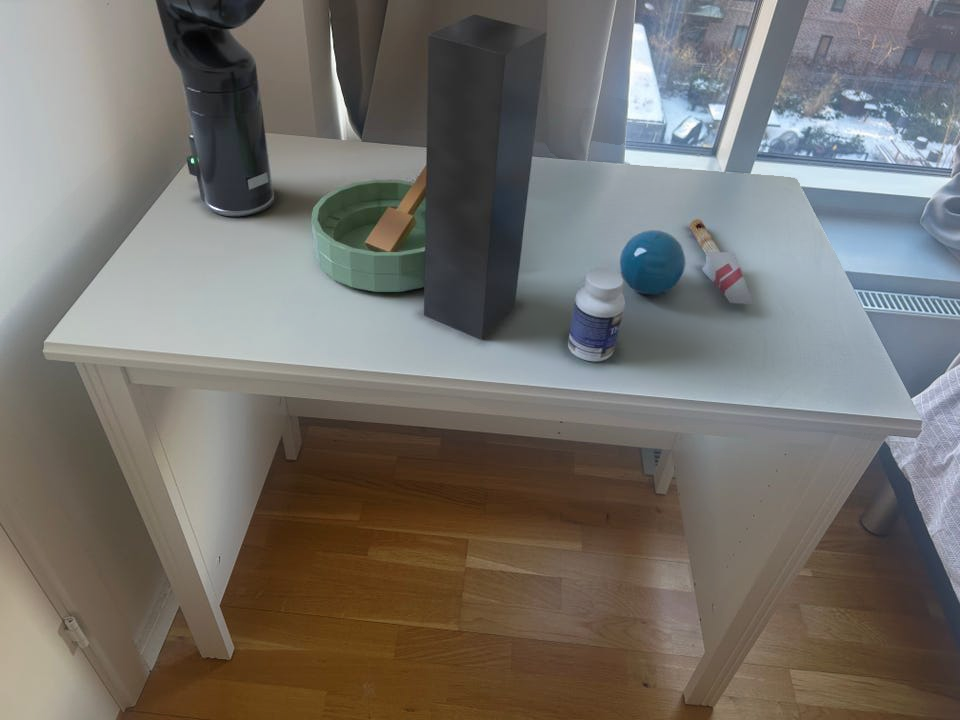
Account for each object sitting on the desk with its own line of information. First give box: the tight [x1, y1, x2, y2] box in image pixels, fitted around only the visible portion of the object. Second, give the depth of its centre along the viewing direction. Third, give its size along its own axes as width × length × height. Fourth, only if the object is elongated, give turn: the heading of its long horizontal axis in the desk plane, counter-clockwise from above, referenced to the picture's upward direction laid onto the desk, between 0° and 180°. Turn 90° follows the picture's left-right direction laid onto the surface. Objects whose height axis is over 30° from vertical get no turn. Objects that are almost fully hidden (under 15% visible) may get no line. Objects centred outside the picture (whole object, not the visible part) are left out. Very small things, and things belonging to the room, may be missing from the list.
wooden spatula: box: [365, 165, 426, 252], centre depth 97 cm, size 16×4×2 cm, turn 149°
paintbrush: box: [689, 218, 754, 304], centre depth 99 cm, size 4×3×20 cm
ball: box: [619, 229, 686, 296], centre depth 92 cm, size 8×8×8 cm
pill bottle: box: [567, 267, 626, 362], centre depth 82 cm, size 5×5×10 cm
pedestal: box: [423, 14, 547, 341], centre depth 79 cm, size 8×8×32 cm
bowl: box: [310, 179, 426, 293], centre depth 95 cm, size 19×19×6 cm
